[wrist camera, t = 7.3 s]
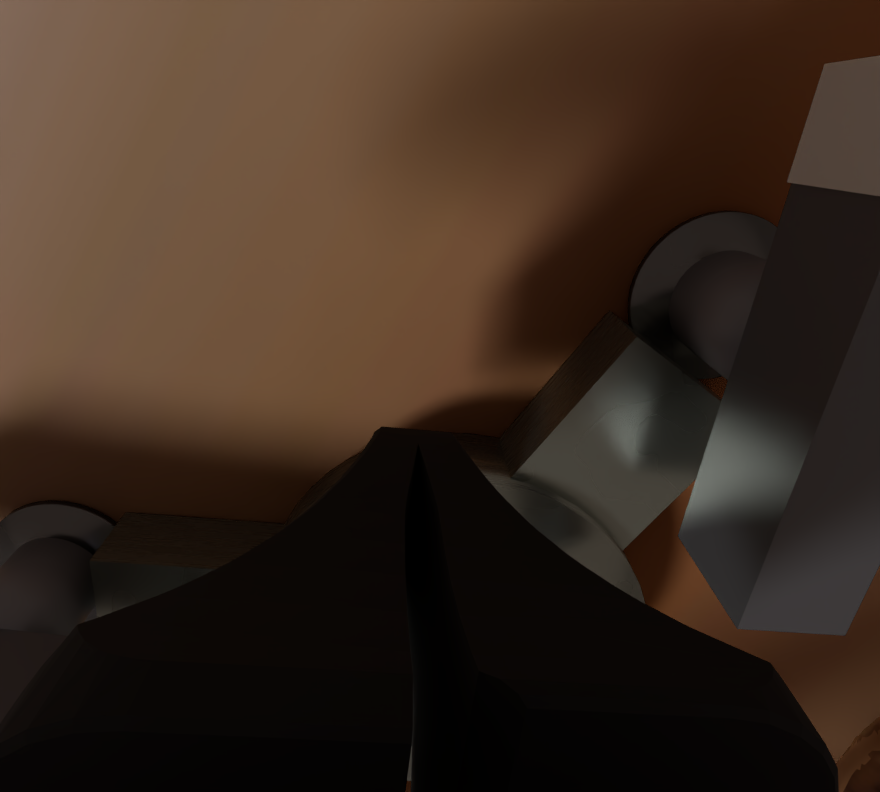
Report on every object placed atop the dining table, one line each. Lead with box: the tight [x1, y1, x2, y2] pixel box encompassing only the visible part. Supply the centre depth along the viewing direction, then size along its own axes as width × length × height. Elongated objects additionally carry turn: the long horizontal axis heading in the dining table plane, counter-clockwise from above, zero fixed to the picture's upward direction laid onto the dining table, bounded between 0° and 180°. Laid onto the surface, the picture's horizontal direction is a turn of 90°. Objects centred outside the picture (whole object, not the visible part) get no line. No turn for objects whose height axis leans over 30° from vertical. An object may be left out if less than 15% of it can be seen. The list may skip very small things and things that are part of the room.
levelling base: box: [0, 211, 777, 781], centre depth 14 cm, size 20×18×3 cm
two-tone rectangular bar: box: [669, 55, 880, 636], centre depth 10 cm, size 8×2×5 cm, turn 174°
